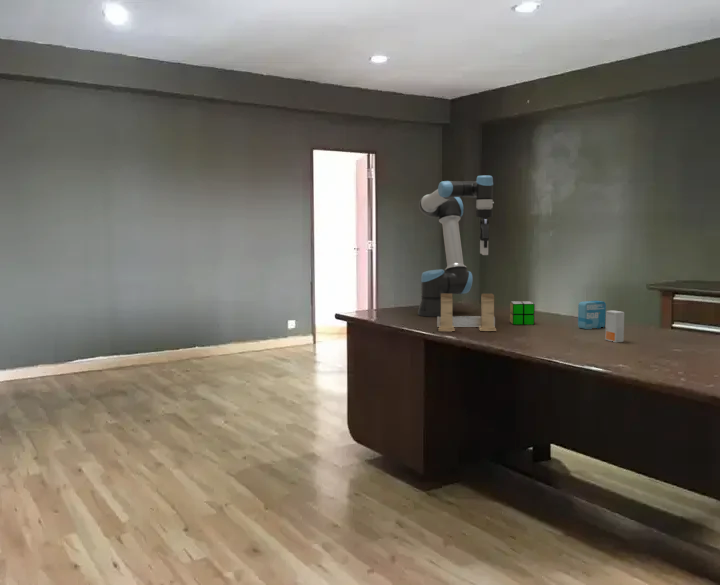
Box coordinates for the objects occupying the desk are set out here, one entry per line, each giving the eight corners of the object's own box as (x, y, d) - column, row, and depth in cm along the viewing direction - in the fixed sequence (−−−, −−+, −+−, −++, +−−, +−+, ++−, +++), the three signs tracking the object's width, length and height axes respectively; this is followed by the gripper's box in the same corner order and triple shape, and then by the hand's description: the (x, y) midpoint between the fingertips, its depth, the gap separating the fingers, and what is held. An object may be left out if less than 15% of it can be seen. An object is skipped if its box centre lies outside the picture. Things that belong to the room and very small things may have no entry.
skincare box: (604, 340, 271) (605, 310, 270) (613, 339, 272) (614, 310, 271) (615, 342, 265) (616, 312, 264) (624, 341, 267) (624, 311, 265)
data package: (584, 329, 298) (585, 302, 297) (577, 328, 302) (578, 301, 301) (605, 327, 303) (606, 301, 302) (598, 326, 307) (598, 300, 306)
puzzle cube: (531, 322, 323) (531, 301, 322) (534, 325, 313) (534, 303, 312) (509, 321, 324) (510, 301, 323) (512, 325, 314) (512, 303, 313)
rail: (437, 326, 312) (437, 316, 312) (493, 327, 310) (493, 316, 309) (437, 328, 308) (437, 317, 308) (494, 328, 306) (495, 317, 305)
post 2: (478, 328, 303) (479, 293, 301) (494, 328, 302) (494, 293, 300) (480, 331, 295) (480, 295, 293) (496, 331, 294) (496, 295, 292)
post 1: (438, 328, 305) (438, 293, 303) (454, 328, 304) (454, 293, 302) (438, 331, 297) (438, 295, 295) (454, 331, 296) (454, 295, 294)
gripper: (495, 208, 302) (494, 255, 304) (490, 209, 327) (489, 253, 329) (478, 208, 303) (477, 255, 305) (474, 209, 327) (474, 253, 330)
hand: (484, 254), depth 317 cm, fingers open, 13 cm apart
